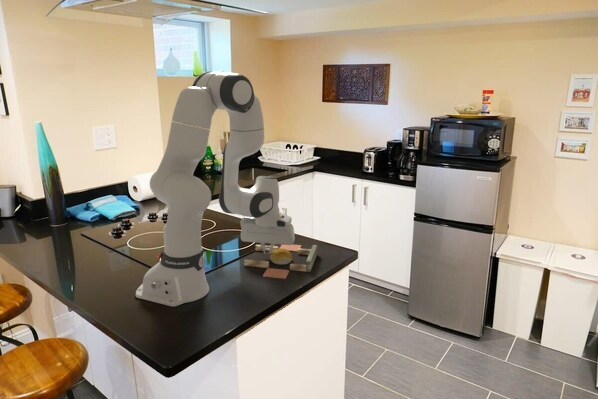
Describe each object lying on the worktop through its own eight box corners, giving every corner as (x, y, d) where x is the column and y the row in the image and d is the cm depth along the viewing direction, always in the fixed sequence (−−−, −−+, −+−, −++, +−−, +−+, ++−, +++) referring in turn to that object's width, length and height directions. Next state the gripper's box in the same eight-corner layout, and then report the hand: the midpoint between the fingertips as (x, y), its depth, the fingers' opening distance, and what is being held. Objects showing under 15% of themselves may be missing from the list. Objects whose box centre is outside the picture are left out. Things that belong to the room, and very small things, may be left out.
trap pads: (263, 276, 144) (263, 275, 143) (282, 244, 171) (282, 243, 171) (285, 278, 142) (285, 277, 142) (301, 246, 170) (301, 245, 170)
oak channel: (244, 265, 152) (244, 255, 151) (256, 249, 166) (256, 239, 165) (310, 271, 147) (310, 261, 146) (316, 254, 162) (317, 245, 161)
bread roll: (289, 254, 162) (289, 244, 161) (294, 264, 153) (294, 254, 152) (268, 256, 160) (268, 246, 159) (272, 266, 152) (272, 256, 150)
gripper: (237, 219, 152) (238, 254, 156) (292, 223, 149) (292, 258, 153) (242, 214, 158) (243, 247, 162) (295, 217, 155) (295, 252, 159)
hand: (267, 253), depth 157 cm, fingers closed
